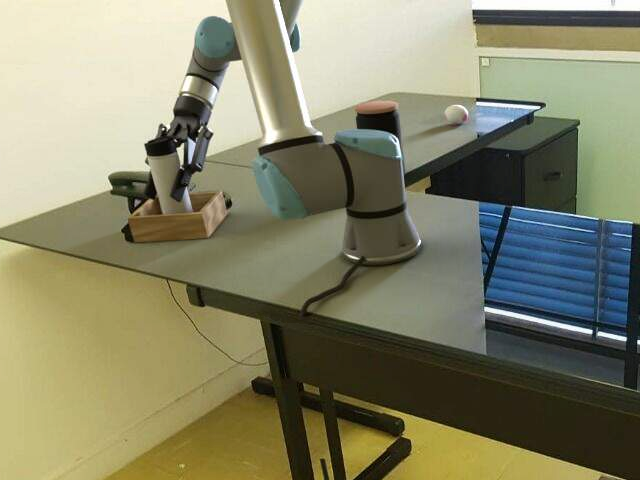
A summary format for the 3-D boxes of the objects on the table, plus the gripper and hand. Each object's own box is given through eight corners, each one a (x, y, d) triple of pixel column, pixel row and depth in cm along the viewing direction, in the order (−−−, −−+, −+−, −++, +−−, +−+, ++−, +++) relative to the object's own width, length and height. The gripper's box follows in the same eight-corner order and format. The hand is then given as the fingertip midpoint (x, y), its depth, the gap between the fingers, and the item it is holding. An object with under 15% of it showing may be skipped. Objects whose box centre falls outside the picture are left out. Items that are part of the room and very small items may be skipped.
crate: (208, 238, 169) (201, 213, 166) (134, 242, 169) (127, 218, 166) (227, 214, 183) (222, 190, 180) (159, 218, 183) (152, 195, 180)
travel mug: (192, 231, 173) (168, 139, 163) (163, 233, 173) (137, 141, 163) (201, 222, 179) (179, 132, 168) (173, 224, 179) (148, 134, 169)
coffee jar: (399, 184, 195) (390, 109, 186) (358, 184, 197) (347, 110, 188) (411, 172, 204) (403, 100, 194) (371, 172, 206) (362, 101, 197)
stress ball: (470, 132, 252) (472, 112, 252) (464, 123, 244) (466, 102, 244) (447, 131, 253) (450, 111, 254) (440, 122, 246) (443, 101, 246)
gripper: (241, 114, 173) (208, 209, 169) (172, 112, 181) (140, 202, 176) (219, 94, 166) (185, 192, 162) (149, 92, 174) (115, 186, 170)
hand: (161, 197), depth 169 cm, fingers open, 7 cm apart
